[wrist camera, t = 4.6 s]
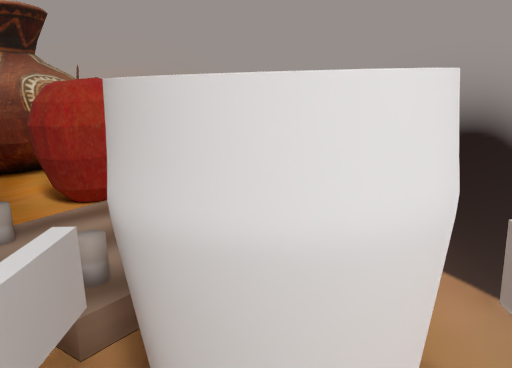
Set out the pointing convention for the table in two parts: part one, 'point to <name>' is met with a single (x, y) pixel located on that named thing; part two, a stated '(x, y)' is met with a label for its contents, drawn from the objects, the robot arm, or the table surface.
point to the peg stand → (84, 275)
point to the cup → (284, 213)
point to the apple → (71, 137)
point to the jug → (20, 82)
